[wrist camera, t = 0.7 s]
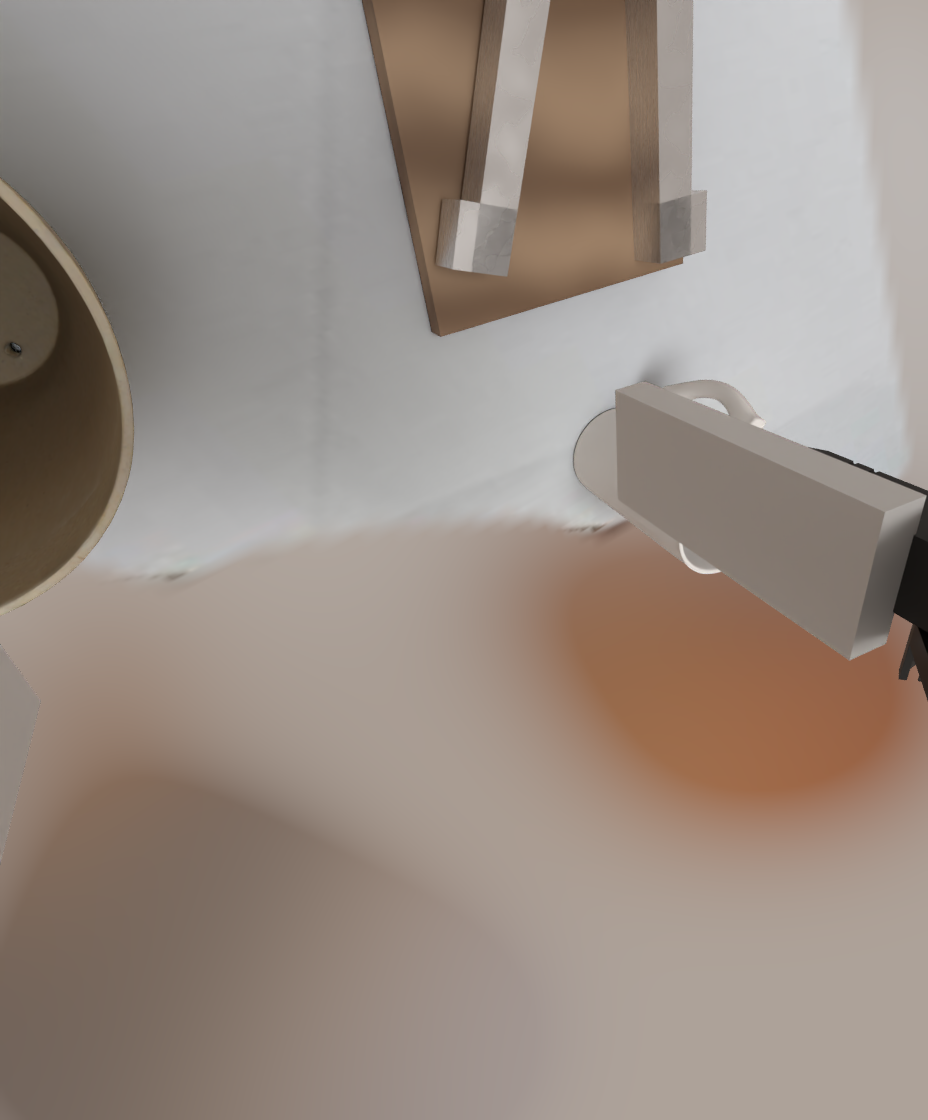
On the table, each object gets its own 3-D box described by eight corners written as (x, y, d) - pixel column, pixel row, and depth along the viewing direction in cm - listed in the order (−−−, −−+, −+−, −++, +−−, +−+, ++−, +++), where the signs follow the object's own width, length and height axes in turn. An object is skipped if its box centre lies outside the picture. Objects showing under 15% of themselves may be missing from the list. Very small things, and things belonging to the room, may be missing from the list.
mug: (627, 501, 48) (741, 580, 39) (555, 486, 45) (660, 567, 36) (686, 370, 45) (828, 420, 35) (612, 343, 42) (746, 389, 32)
